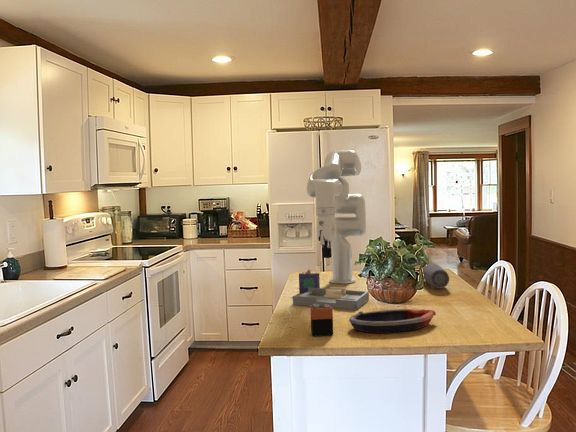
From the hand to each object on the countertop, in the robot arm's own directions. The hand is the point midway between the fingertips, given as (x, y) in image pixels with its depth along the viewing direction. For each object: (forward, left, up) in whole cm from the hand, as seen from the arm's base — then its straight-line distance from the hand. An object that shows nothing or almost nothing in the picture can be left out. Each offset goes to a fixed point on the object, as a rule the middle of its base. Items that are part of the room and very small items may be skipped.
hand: (327, 257), depth 201 cm
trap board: (-5, -1, -19) cm, 20 cm away
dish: (+20, +31, -20) cm, 42 cm away
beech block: (-8, 0, -17) cm, 19 cm away
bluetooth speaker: (-48, +33, -20) cm, 62 cm away
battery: (+36, +11, -20) cm, 42 cm away
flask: (-17, -16, -20) cm, 30 cm away
